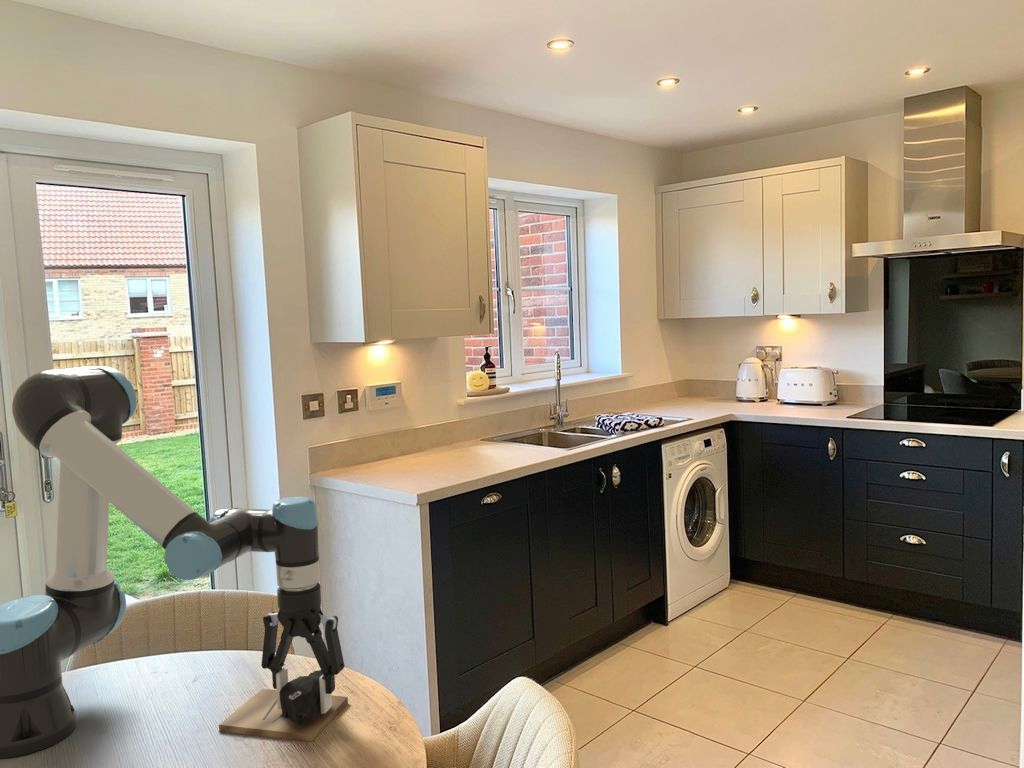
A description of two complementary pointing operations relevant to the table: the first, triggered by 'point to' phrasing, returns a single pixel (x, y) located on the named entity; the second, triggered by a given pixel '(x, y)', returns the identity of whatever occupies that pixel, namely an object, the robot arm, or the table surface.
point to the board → (277, 718)
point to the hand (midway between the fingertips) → (304, 707)
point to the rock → (301, 697)
